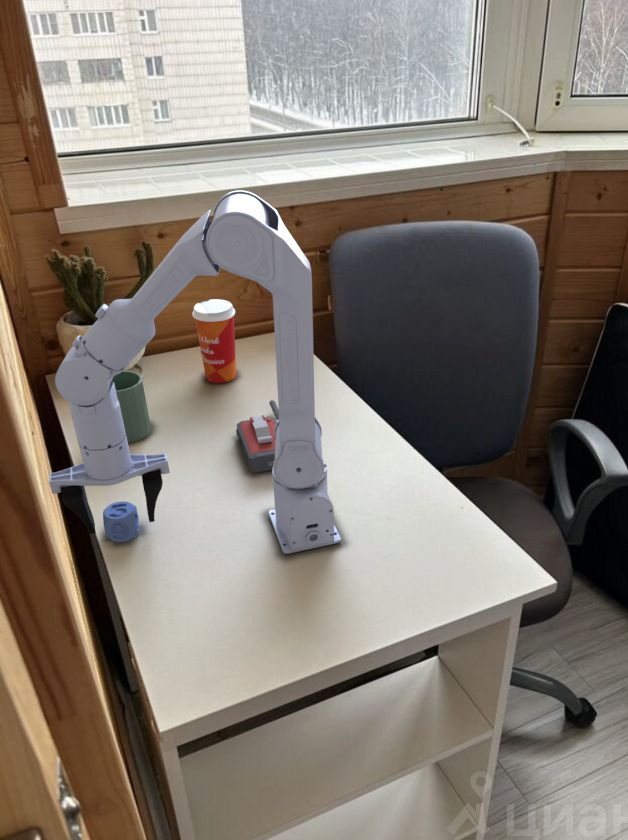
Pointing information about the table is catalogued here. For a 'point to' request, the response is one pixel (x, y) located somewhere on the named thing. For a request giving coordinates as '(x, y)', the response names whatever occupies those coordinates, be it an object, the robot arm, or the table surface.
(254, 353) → the table surface
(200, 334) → the paper cup
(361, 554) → the table surface
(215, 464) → the table surface
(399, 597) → the table surface
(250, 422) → the walkie-talkie
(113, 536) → the decorative dice
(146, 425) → the pencil cup
